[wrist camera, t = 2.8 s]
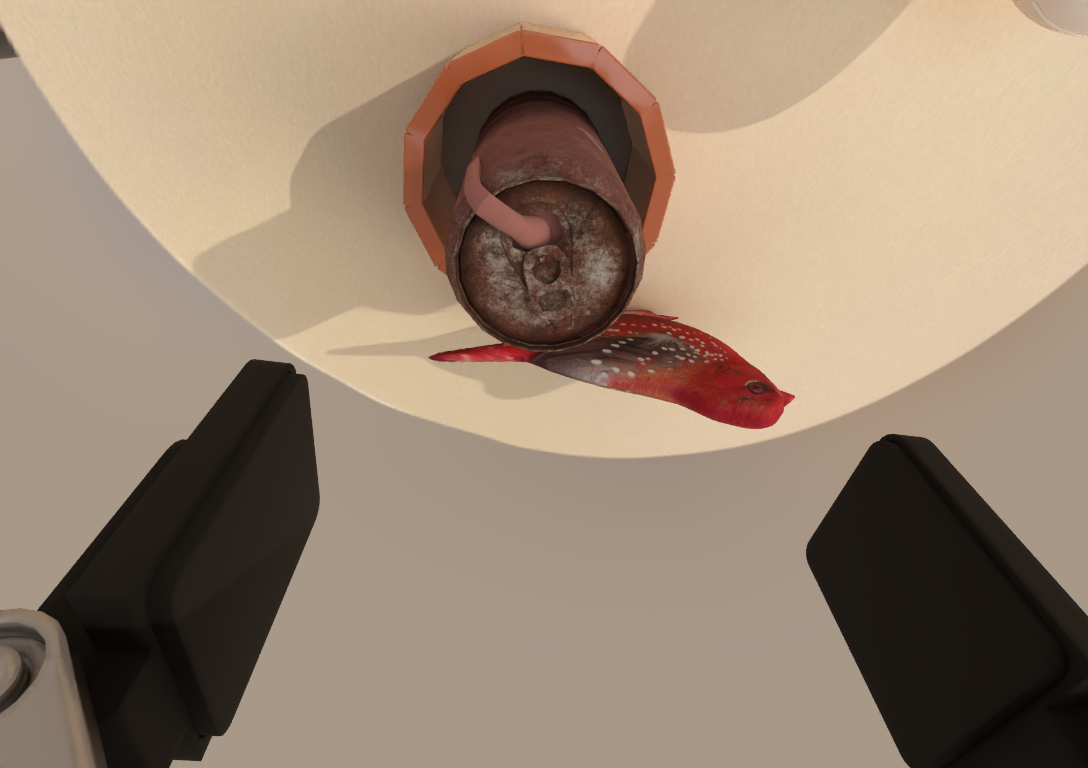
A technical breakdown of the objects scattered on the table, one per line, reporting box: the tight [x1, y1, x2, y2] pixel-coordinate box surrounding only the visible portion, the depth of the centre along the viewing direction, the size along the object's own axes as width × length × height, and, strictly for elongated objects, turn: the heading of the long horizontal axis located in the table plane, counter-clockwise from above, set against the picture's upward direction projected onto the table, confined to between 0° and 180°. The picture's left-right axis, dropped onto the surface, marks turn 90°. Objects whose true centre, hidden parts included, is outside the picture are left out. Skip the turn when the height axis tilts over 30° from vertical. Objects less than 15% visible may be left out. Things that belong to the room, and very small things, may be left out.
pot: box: [403, 23, 675, 275], centre depth 25 cm, size 11×11×6 cm
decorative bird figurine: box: [428, 310, 795, 429], centre depth 28 cm, size 3×18×10 cm, turn 85°
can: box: [444, 91, 646, 352], centre depth 22 cm, size 6×6×14 cm
